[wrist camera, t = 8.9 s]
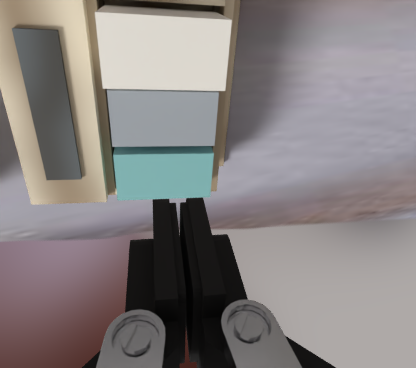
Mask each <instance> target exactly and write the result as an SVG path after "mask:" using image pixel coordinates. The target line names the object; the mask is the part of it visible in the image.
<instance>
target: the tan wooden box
mask: <svg viewBox="0 0 416 368" xmlns="http://www.w3.org/2000/svg"><path fill="white" fill-rule="evenodd" d="M240 1H241V0H0V89H1V93H2V97H3V100H4V104H5V108H6V111H7V115H8V119H9V122H10V126H11V130H12V133H13V137H14V141H15V145H16V148H17V152H18V156H19V159H20V163H21V167H22V170H23V174H24V178H25V181H26V185H27V189H28V193H29V196H30V200H31V204H32V205H34V204H61V203H89V202H107V198H108V195H116V194H117V188H116V178H115V168H114V158H113V153H114V148H115V147H112V137H111V127H110V117H109V107H108V97H107V89H103V86H102V76H101V67H100V57H99V48H98V38H97V29H96V19H95V11H97V10H98V9H100V8H101V7H103V6H104V5H118V6H134V7H150V8H166V9H182V10H198V11H214V12H217V13H219V14H221V15H223V16H225V17H227V18H229V19H231V20H232V24H231V35H230V45H229V56H228V66H227V77H226V88H225V91H218V92H219V98H218V110H217V122H216V134H215V146H211V147H212V150H213V153H214V158H213V169H212V181H211V191H216V190H217V180H218V169H219V166H223V164H224V155H225V145H226V135H227V126H228V116H229V107H230V97H231V87H232V78H233V68H234V58H235V49H236V39H237V30H238V20H239V10H240Z"/></svg>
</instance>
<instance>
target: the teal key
mask: <svg viewBox="0 0 416 368" xmlns="http://www.w3.org/2000/svg"><path fill="white" fill-rule="evenodd" d="M113 158H114V168H115V178H116V188H117V198H118V200H143V199H170V198H198V197H210V193H211V181H212V169H213V158H214V153H213V150H212V147H211V146H145V147H115V148H114V153H113Z"/></svg>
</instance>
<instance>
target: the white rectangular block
mask: <svg viewBox="0 0 416 368" xmlns="http://www.w3.org/2000/svg"><path fill="white" fill-rule="evenodd" d="M95 19H96V29H97V38H98V48H99V57H100V67H101V76H102V86H103V89H147V90H197V91H225V88H226V77H227V66H228V56H229V45H230V35H231V24H232V20H231V19H229V18H227V17H225V16H223V15H221V14H219V13H217V12H214V11H198V10H182V9H166V8H150V7H134V6H118V5H104V6H103V7H101V8H100V9H98V10H97V11H95Z"/></svg>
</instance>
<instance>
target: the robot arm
mask: <svg viewBox="0 0 416 368" xmlns="http://www.w3.org/2000/svg"><path fill="white" fill-rule="evenodd" d="M153 233H154V234H153V235H154V239H141V240H131V241H130V249H129V264H128V278H127V294H126V309H125V313H123V314H122V315H120V316H119V317H118V318H116V319H115V320H114V321H113V322H112V323H111V324H110V326H109V328H108V330H107V332H106V334H105V337H104V341H103V345H102V348H101V350H100V351H99V352H98V353H97V354H96V355H95V356H94V357H93V358H92V359H91V360H90V361H89V362H88V363H86V364H85V365H84V366H83V367H82V368H179V364H180V363H184V362H185V361H184V360H185V332H186V331H187V340H188V350H189V358H190V362H196V361H197V368H335V367H334V366H332V365H331V364H329V363H328V362H326V361H324V360H323V359H321V358H319V357H318V356H316V355H315V354H313V353H312V352H310V351H308V350H307V349H305V348H303V347H302V346H301V345H299V344H297V343H296V342H294V341H293V340H291V339H289V338H288V337H286V336H285V335H284V333H283V331H282V330H281V328H280V326H279V324H278V322H277V321H276V318H275V317H274V315H273V314H272V313H271V311H270V310H269V309H268V308H266V307H265V306H264V305H263V304H260V303H258V302H256V301H252V300H248V299H247V295H246V292H245V289H244V285H243V282H242V279H241V276H240V272H239V269H238V266H237V262H236V259H235V256H234V253H233V249H232V246H231V243H230V239H229V237H228V235H227V234H224V235H212V233H211V229H210V225H209V221H208V217H207V212H206V208H205V204H204V200H203V198H202V197H201V198H187V199H186V202H183V203H180V236H179V227H178V219H177V210H176V203H169V199H153Z"/></svg>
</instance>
